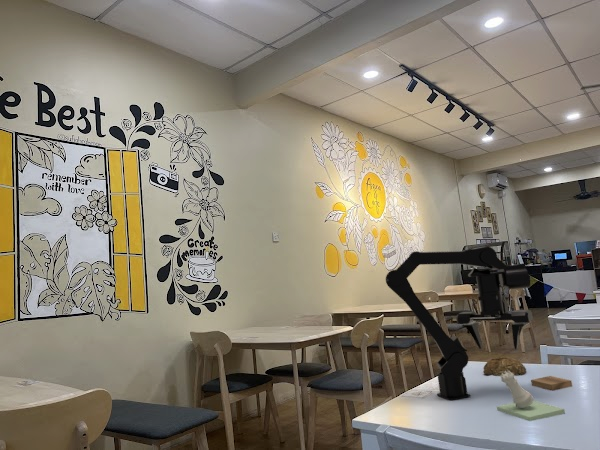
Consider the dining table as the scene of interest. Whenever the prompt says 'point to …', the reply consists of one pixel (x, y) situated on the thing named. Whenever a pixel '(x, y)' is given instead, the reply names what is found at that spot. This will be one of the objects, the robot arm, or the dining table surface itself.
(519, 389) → the rook chess piece
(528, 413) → the sage block
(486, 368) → the bread roll
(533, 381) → the walnut block
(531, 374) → the dining table surface
